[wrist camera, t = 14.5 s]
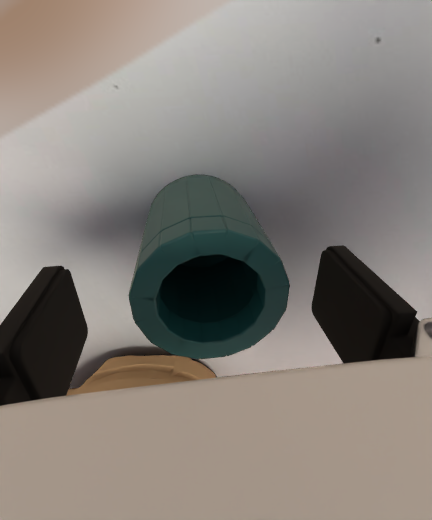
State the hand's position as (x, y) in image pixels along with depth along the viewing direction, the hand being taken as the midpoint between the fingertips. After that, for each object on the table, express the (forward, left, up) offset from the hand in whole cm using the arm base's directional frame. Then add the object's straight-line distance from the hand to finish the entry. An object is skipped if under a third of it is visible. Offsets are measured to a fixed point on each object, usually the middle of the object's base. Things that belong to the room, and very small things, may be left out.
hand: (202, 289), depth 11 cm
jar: (0, 0, -6) cm, 6 cm away
